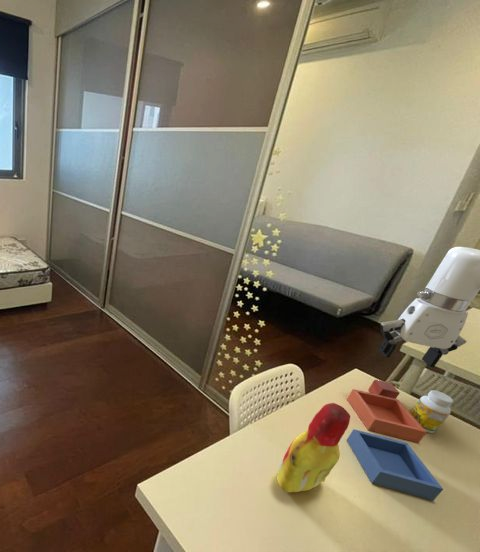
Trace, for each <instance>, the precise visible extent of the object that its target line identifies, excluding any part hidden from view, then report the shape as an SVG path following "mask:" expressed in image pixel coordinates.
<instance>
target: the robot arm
mask: <svg viewBox="0 0 480 552" xmlns="http://www.w3.org/2000/svg"><path fill="white" fill-rule="evenodd" d="M479 292H480V249H477V248H472V247H465V246H455V247H453V248H450V249H449V250H448V251H447V253H446V254H445V256H444V257H443V259H442V260H441V262H440V264H439V265H438V266H437V268H436V270H435V272H434V273H433V275H432V277H431V278H430V280H429V281H428V282H427V285H426V286H425V288H424V289H423V290H418V291H417V292H416V296H417V297H419V298H415V299H414V300H412V301H411V303H409V305H408V306H407V307H406V308H405V309H404V310H403V312H402V313H401V315H400V316H399V318H398V319H395V320H388V321H382V322H380V333H381V335H382V336H383V337H382V338H384V340H383V341H382V343H381V344H380V346H379V349H378V352H379V353H380V354H382V356H384V358H387V359H388V358H390V357H391V355H392V354H393V352H394V350H395V349H396V347H397V343H399V342H402V341H404V342H407V343H411V344H416V345H419V346H424V347H425V346H426V347H428V349H427V351H425V353H424V355H423V357H422V358H421V360H422V362H424V363H425V364H426V365H428V366H429V367H430V368H435V366H436V365H437V364H438V362H439V361H440V360H441V358H442V357H443V355H444V356H445V355H448V354H449V353H450V352H452V351H456V350H457V349H458V347H459V348H460V347H461V346H463V345H465V344H467V342H468V341H467V339H465V338H463V337H462V336H461V335H460V334H461V332H462V331H463V328H464V327H465V324H466V321H467V319H468V314H469V312H468V311H466V310H467V309H468V307H469V306H470V304H471V303H472V302H473V300H474V299H475V297H476V296H477V295H478V294H479ZM391 329H392V331H391Z"/></svg>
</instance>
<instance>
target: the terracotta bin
mask: <svg viewBox="0 0 480 552" xmlns="http://www.w3.org/2000/svg"><path fill="white" fill-rule="evenodd" d="M346 400H347V402H348V403H349V405H350V406H351V407H352V409H353V410H354V411H355V413H356V414H357V416H358V418H359V419H360V420H361V422H362V424H363V425H364V426H365V428H366V429H367V431H370V432H375V433H378V434H382V435H386V436H390V437H393V438H398V439H402V440H406V441H410V442H413V443H417V444H419V443H420V442H421V441H422V439H423V438H424V437H425V436H426V434H427V433H428V432H426V431H425V430H424V428H423V427H422V426H421V425H420V424H419V423H418V422H417V420H416V419H415V418H414V417H413V416H412V415H411V414H410V412H411V411H409V410H408V409H407V407H406V406H404V404H403V403H402V402H401V401H400V400H399V399H397V398H396V399H393V398H389V397H385V396H381V395H376V394H372V393H370V392H369V391H368V392H367V391H363V390H359V389H355V388H352V390H351V391H350V393H349V394H348V396H347V397H346Z"/></svg>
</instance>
